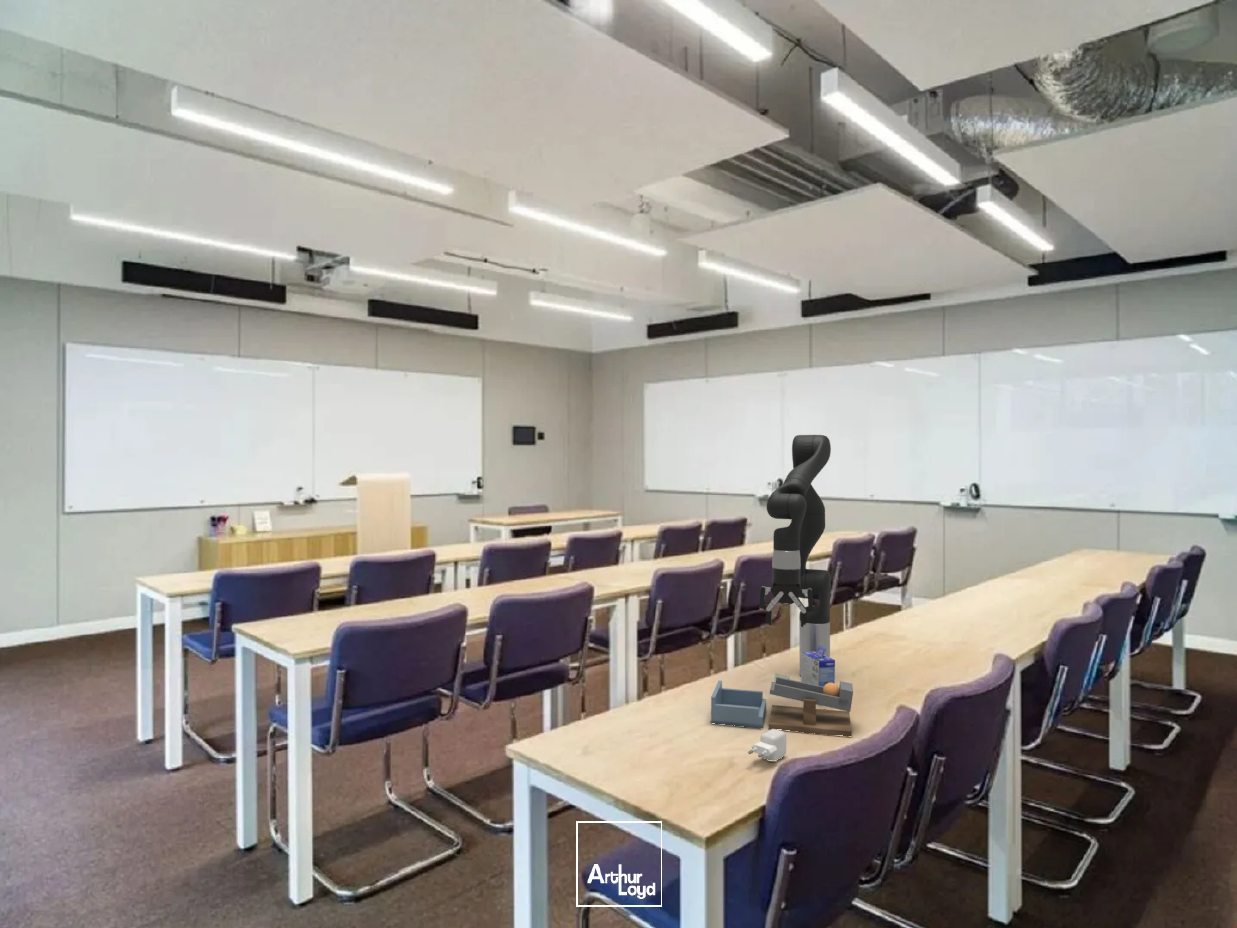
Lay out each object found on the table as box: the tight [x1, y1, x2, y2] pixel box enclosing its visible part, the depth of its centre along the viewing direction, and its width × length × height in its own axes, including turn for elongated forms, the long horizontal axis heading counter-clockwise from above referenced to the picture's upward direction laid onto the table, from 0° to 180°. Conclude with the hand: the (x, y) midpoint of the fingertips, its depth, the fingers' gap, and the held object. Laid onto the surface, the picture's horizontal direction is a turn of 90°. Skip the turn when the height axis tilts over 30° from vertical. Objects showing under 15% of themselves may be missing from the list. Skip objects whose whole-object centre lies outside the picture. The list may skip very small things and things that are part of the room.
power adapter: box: [747, 729, 787, 760], centre depth 163 cm, size 11×5×6 cm, turn 137°
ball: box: [823, 683, 839, 697], centre depth 184 cm, size 4×4×4 cm
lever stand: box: [768, 699, 853, 737], centre depth 186 cm, size 14×20×8 cm
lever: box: [769, 673, 854, 713], centre depth 189 cm, size 15×20×6 cm
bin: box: [710, 680, 767, 729], centre depth 191 cm, size 14×13×7 cm
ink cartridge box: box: [800, 646, 836, 687], centre depth 204 cm, size 10×6×14 cm, turn 15°
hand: (786, 625), depth 197 cm, fingers open, 8 cm apart
